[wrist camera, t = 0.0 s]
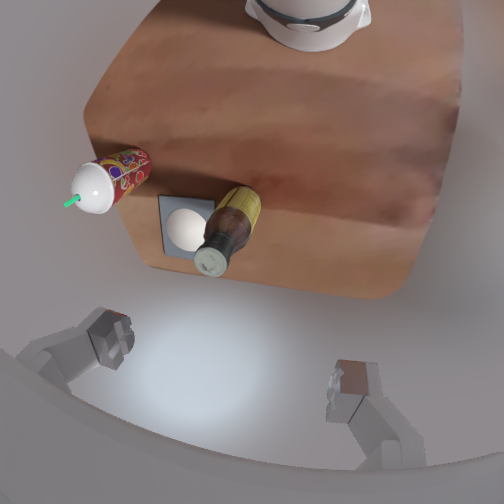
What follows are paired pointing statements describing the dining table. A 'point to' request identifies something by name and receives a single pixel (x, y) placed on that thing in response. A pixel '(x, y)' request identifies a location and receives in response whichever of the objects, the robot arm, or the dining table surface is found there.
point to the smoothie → (108, 180)
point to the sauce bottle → (227, 230)
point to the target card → (184, 224)
